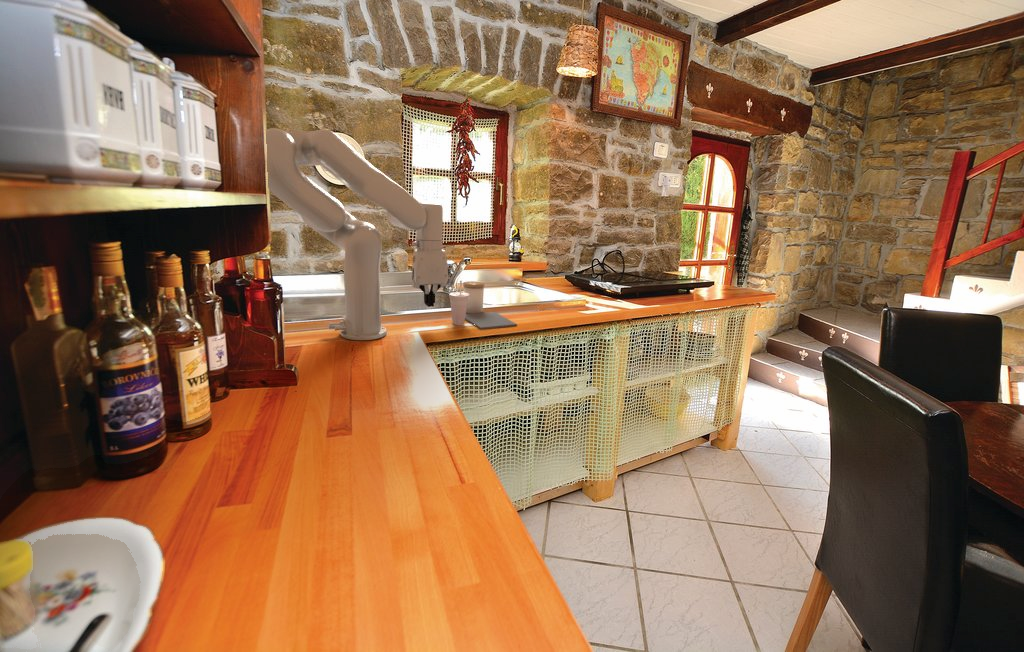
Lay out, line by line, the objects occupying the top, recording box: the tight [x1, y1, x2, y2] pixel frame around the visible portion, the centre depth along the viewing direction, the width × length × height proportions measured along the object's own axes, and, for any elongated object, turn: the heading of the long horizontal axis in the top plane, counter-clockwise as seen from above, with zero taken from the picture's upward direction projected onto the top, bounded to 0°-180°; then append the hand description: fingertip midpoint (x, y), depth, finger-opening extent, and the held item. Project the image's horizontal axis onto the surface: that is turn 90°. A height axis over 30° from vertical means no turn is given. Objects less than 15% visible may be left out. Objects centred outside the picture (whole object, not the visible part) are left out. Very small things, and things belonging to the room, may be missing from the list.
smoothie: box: [448, 280, 469, 326], centre depth 151 cm, size 6×6×14 cm
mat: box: [465, 311, 518, 330], centre depth 158 cm, size 13×16×1 cm
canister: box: [462, 280, 485, 314], centre depth 168 cm, size 7×7×10 cm
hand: (429, 305), depth 147 cm, fingers closed
